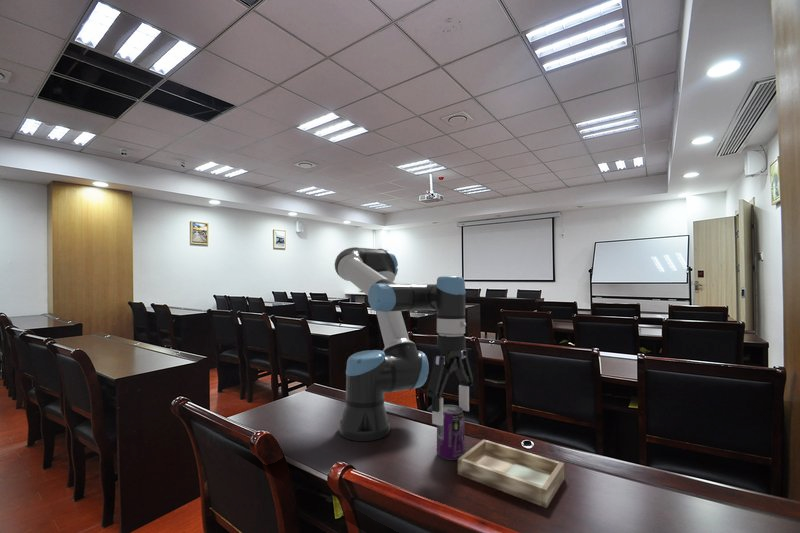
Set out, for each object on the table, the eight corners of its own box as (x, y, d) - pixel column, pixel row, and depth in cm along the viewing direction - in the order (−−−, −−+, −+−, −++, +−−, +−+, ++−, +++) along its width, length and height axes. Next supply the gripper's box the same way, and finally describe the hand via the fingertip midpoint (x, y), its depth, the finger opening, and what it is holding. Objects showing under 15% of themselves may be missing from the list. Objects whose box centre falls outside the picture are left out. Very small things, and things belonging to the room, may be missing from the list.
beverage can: (463, 463, 88) (464, 414, 89) (435, 460, 90) (435, 412, 90) (464, 450, 95) (464, 405, 96) (438, 448, 96) (438, 403, 97)
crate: (457, 474, 83) (457, 458, 83) (483, 452, 94) (483, 439, 94) (546, 508, 71) (546, 490, 71) (564, 478, 82) (564, 463, 82)
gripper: (438, 340, 82) (438, 435, 80) (484, 331, 101) (485, 407, 100) (411, 338, 86) (411, 427, 85) (461, 329, 106) (461, 402, 105)
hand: (451, 416), depth 92 cm, fingers open, 13 cm apart
